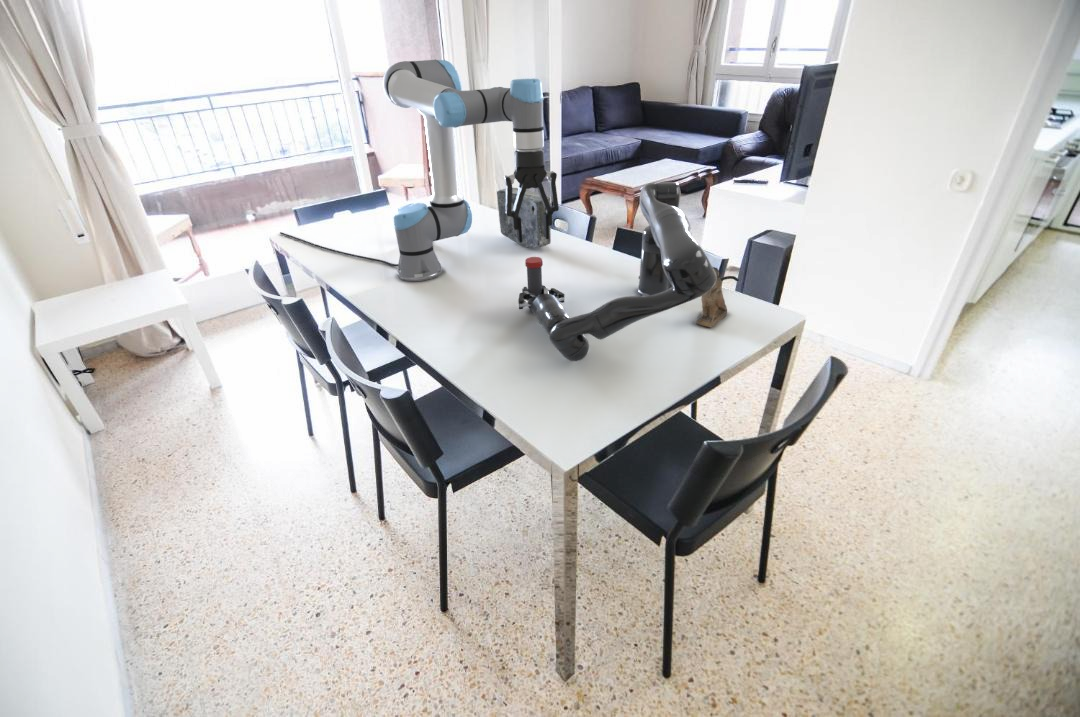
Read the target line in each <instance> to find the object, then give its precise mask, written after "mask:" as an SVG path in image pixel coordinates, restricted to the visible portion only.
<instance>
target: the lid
mask: <svg viewBox="0 0 1080 717" xmlns="http://www.w3.org/2000/svg"><path fill="white" fill-rule="evenodd" d="M524 265H525V267H526V268H527V267H528V268H539V267H541V268H542V267H543V265H544V262H543V258H542V257H540V256H531V257H527V258H526V259H525V261H524Z"/></svg>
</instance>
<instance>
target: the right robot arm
mask: <svg viewBox="0 0 1080 717" xmlns="http://www.w3.org/2000/svg"><path fill="white" fill-rule="evenodd" d="M680 204H681V187H680V184H679V183H678V182H674V181H670V182H669V181H665V182H664V181H663V182H662V181H661V182H649V183H646V184H645V185H643V186H642V187H641V191H640V193H639V207H640V211H641V213H642V216H643V217H644V218H645V220H646V221H647V223H648V226H646V227H645V228H644V229H643V230H642V238H641V251H640V265H639V276H638V288H637V292H638V294H639V295H629V296H621V297H617V298H613V299H612V300H609V301H608V302H606V303H604V304H602V305H600V306H599V307H597V308H595V309H594V310H592V311H589V312H586V313H583V314H579V315H575V316H571V317H570V316H569V314H568V313H567V311H566V310H565V307H564V306H563V305H562V304H564V303H565V292H562V291H560V290H558V289H557V288H554V287H551V288H550V289H549V288H548V287H546V285H544V284H542V294H541V295H536V294H535V293H533V292H529V290H528V286H523V288H521V291H522V292H519V293H518V299H517V302H518V303H517V304H518V310H523V309H524V308H528V309H529V308H530V309H532V311H533V313H534V314H533V315H534V316H535V318H536V320H537V321H538V323H539V324H540V326H541V327H542V328H543V330H544V331H545V333H547V335H548V340H549V341H550V343H551V344H552V345H553V347H554V348H555V349H556V350H557V351H558V352H559V354H561V355H562V356H563V358H565V360H567V361H569V362H580V361H581V360H583V359H585V358H586V357H587V355H588V353H589V351H590V343H589V341H588V340H589V339H587V337H586V336H585V335H590V336H592V337H593V338H595V339H597V340H601V341H602V340H604V339H606V338H608V337H610V336H612V335H614V334H615V333H617V332H620V331H621V330H622V329H624V328H627V327H628V326H631V325H632V324H634V323H636V322H639V321H640V320H641V321H642V320H644V319H646V318H648V317H652V316H654V315H656V314H659V313H662V312H665V311H668V310H672V309H673V308H676V307H678V306H681V305H684V304H686V303H688V302H691V301H694V300H696V299H698V298H701V296H702V295H704V294H705V293H707V292H708V291H710V290H711V289H712V288H713V287H714V285H715V283H716V281H717V275H716V273H715V271H714V269H713V267H714V266H713V265H712V263H711V262H710V260H709V257H708V255H707V254H706V252H705V250H704V249H703V247H702V246H701V245H700V244H699V243H698V242H697V241H696V240H695V239H694V237H693V236H692V235H693V229H692V226H691V223H690V221H689V220H688V217H687V216H686V214H685V213H684V212H683V211H682V210H681V209H679V208H680ZM719 278H720V279H721V281H725V280H734V281H735V282H740V279H739V278H738V277H736V276H734V275H726V276H722V277H719Z"/></svg>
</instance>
